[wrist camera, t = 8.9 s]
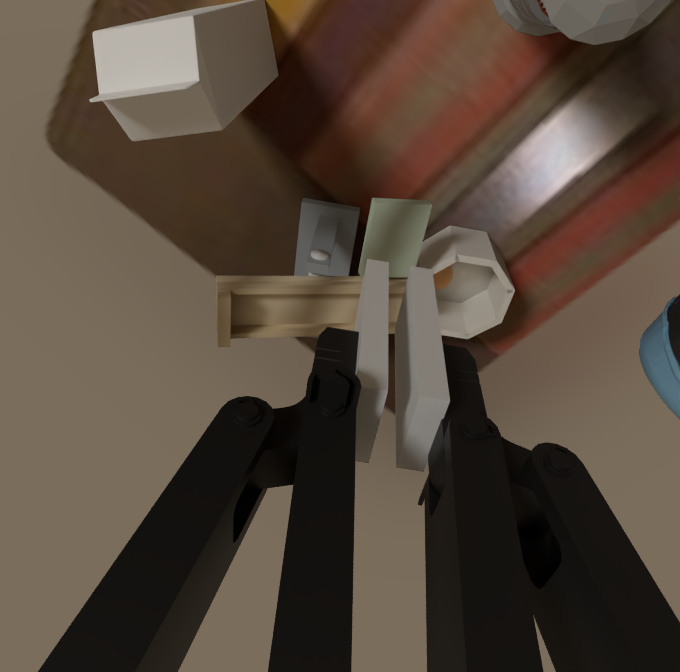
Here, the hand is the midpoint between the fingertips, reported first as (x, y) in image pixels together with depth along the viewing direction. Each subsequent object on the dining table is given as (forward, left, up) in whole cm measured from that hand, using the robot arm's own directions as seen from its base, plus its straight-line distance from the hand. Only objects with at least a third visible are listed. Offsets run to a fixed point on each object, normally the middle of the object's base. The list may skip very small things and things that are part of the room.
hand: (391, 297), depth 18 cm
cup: (-11, +16, -34) cm, 39 cm away
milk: (+14, -2, -35) cm, 37 cm away
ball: (-8, +16, -32) cm, 37 cm away
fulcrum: (+4, +16, -34) cm, 38 cm away
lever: (+4, +12, -23) cm, 27 cm away
